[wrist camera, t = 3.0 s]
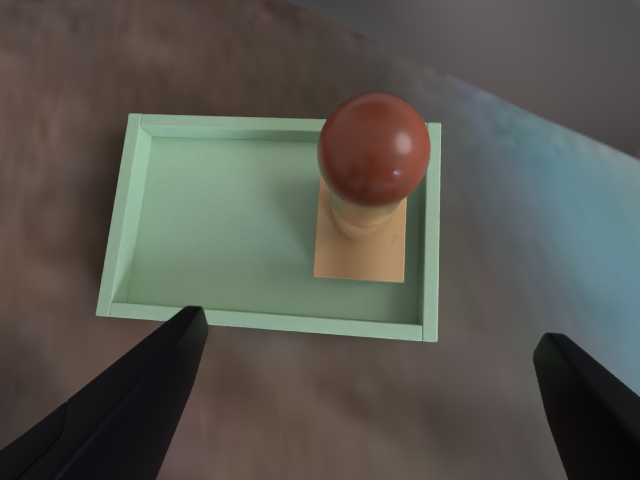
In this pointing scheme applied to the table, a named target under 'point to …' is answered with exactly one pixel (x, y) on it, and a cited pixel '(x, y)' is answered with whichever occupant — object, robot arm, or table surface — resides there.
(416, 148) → the wooden rubber stamp
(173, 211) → the tray
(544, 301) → the table surface
